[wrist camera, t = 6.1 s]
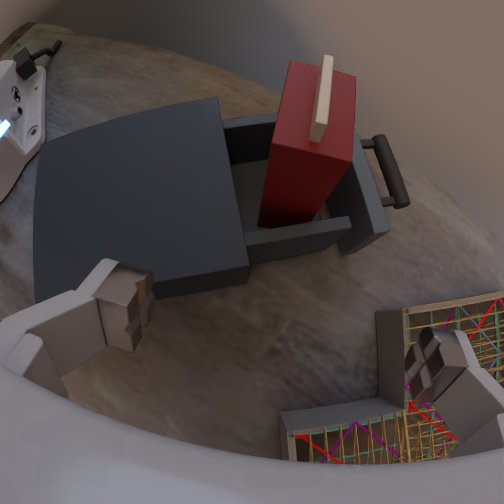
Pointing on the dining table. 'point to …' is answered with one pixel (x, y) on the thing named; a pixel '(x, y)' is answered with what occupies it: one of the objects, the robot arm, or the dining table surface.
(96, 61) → the dining table surface
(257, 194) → the drawer
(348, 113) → the card box
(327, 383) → the dining table surface
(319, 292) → the dining table surface
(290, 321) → the dining table surface
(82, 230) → the cabinet
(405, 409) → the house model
